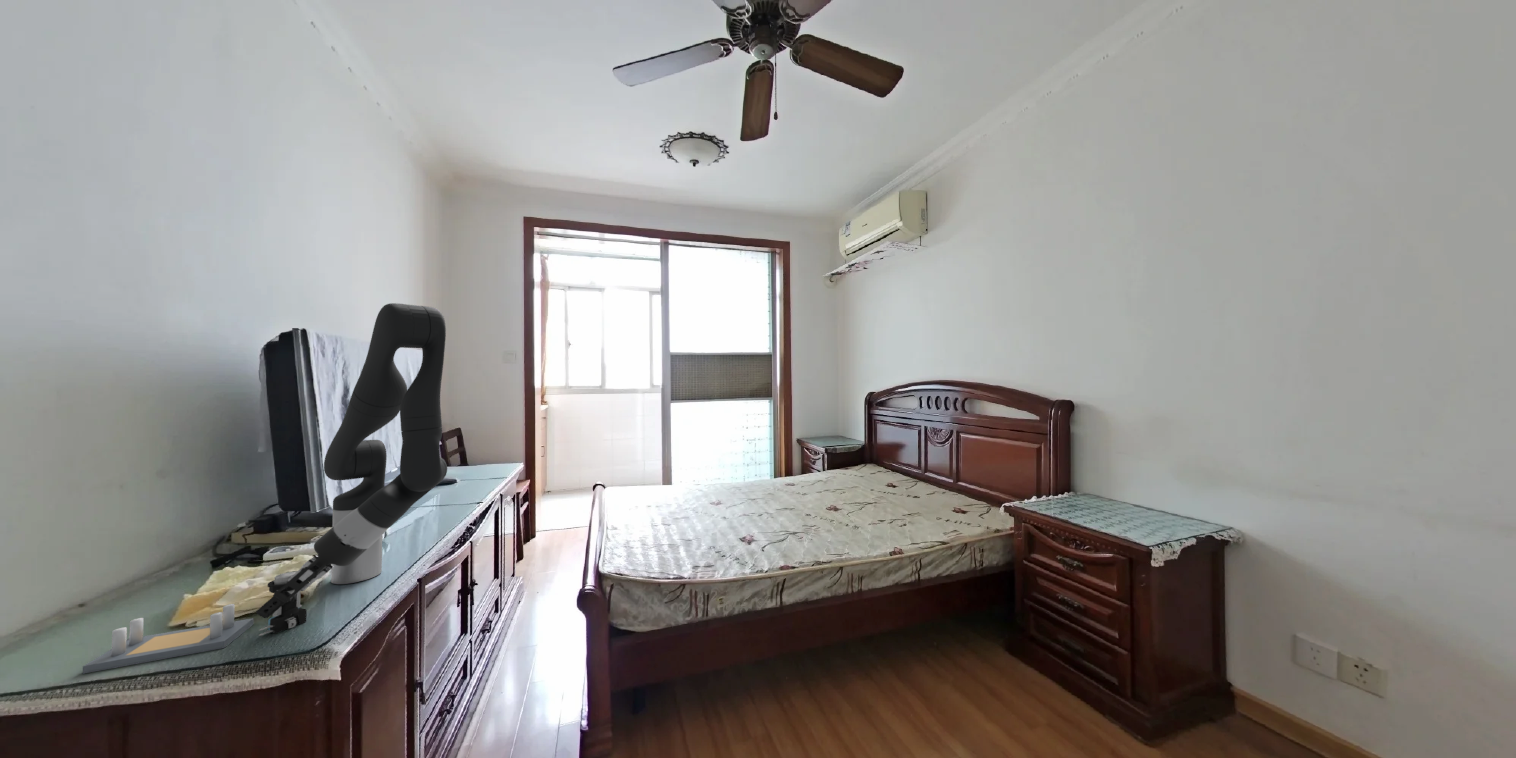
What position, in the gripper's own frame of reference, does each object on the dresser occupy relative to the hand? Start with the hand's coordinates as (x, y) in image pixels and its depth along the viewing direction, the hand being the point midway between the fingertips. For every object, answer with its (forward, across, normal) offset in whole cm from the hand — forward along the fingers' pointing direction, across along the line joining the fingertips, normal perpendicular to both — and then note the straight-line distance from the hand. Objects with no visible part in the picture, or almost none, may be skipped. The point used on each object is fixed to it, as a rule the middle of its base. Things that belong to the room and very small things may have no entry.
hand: (273, 605), depth 85 cm
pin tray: (+12, -1, -6) cm, 14 cm away
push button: (+3, 0, +4) cm, 5 cm away
